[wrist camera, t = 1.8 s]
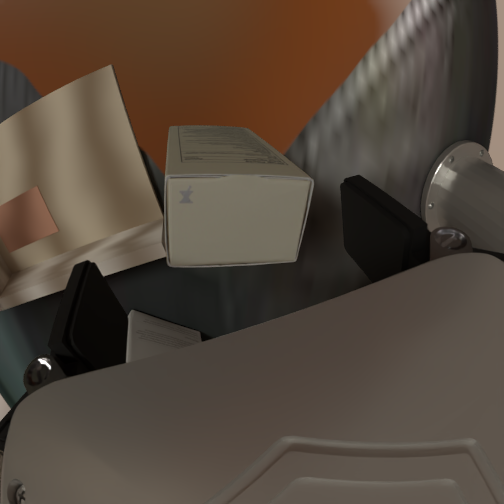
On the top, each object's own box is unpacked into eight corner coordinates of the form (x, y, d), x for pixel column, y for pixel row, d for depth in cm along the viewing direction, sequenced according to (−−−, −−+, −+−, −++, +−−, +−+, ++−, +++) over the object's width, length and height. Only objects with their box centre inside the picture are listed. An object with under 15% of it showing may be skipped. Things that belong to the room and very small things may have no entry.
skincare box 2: (167, 179, 23) (158, 270, 13) (168, 124, 21) (155, 174, 11) (248, 180, 25) (299, 267, 15) (254, 127, 23) (317, 179, 12)
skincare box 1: (113, 343, 31) (103, 475, 18) (132, 303, 29) (123, 453, 16) (179, 364, 35) (193, 487, 22) (205, 330, 33) (229, 466, 20)
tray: (113, 64, 18) (97, 63, 14) (168, 226, 25) (167, 256, 22) (-49, 162, 17) (-77, 180, 13) (13, 282, 24) (-3, 312, 21)
